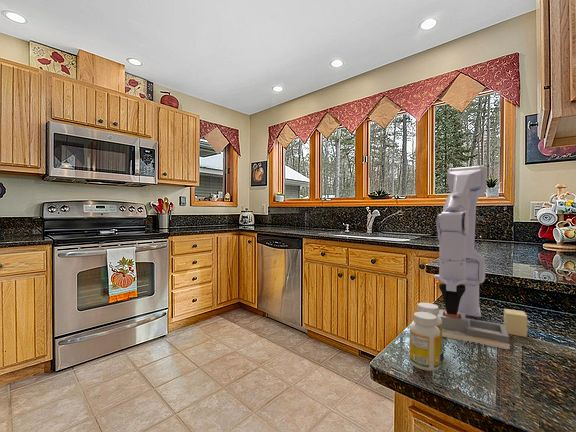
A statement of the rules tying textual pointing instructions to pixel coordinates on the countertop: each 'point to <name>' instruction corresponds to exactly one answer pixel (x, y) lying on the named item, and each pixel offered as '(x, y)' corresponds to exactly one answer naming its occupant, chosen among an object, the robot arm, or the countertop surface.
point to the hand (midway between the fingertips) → (451, 313)
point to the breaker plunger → (452, 315)
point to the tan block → (515, 322)
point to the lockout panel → (474, 330)
